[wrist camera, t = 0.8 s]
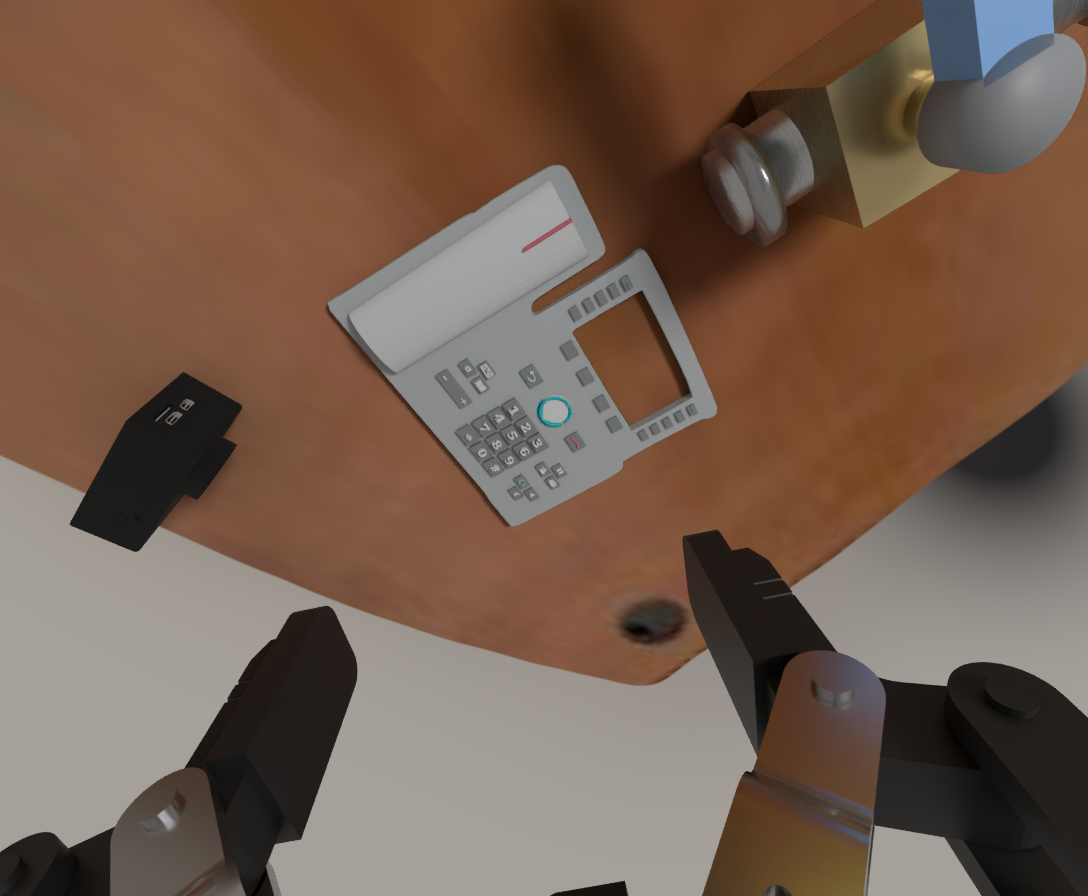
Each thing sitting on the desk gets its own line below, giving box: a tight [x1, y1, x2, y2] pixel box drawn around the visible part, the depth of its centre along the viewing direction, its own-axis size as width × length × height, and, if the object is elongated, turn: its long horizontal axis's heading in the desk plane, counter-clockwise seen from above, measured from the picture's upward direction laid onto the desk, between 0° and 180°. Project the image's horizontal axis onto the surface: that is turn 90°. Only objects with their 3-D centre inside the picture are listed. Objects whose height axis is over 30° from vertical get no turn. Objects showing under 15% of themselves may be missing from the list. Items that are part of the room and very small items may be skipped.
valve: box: [701, 0, 1088, 247], centre depth 25 cm, size 22×7×10 cm, turn 123°
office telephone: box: [328, 165, 717, 527], centre depth 37 cm, size 23×3×20 cm
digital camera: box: [70, 372, 242, 552], centre depth 36 cm, size 10×5×7 cm, turn 138°
